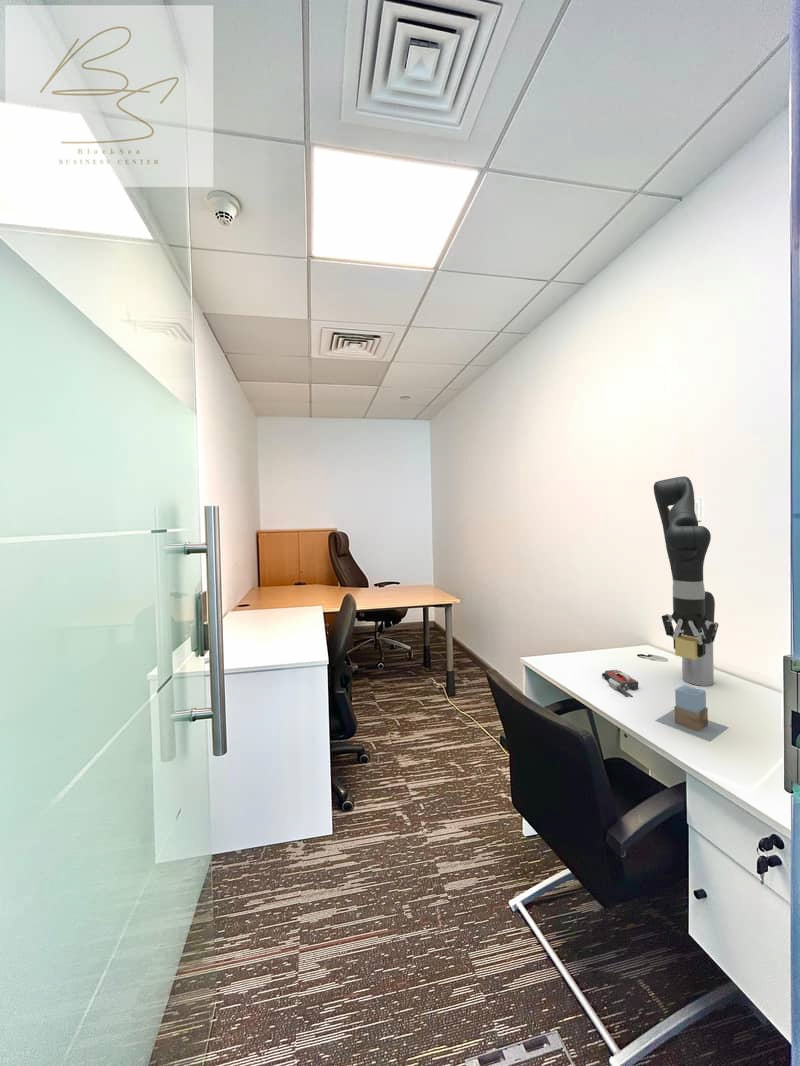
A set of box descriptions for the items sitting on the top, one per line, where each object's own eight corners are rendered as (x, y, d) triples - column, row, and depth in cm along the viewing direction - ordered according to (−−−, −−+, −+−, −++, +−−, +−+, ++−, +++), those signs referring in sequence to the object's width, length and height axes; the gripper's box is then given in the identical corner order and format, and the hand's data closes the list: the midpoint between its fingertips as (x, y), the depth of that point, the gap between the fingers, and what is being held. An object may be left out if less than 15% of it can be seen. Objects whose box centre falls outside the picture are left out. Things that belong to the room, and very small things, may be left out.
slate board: (675, 711, 128) (675, 708, 128) (729, 730, 116) (729, 727, 116) (655, 723, 122) (655, 720, 122) (710, 745, 110) (710, 741, 110)
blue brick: (684, 700, 123) (684, 684, 123) (705, 707, 118) (705, 690, 118) (675, 706, 120) (675, 689, 120) (697, 713, 115) (696, 696, 115)
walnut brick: (684, 716, 123) (684, 700, 123) (707, 724, 118) (707, 707, 118) (674, 722, 120) (674, 706, 120) (698, 731, 115) (697, 714, 115)
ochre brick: (683, 651, 122) (683, 634, 122) (703, 655, 118) (702, 638, 117) (675, 655, 119) (675, 638, 119) (694, 659, 115) (694, 642, 115)
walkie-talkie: (596, 677, 157) (629, 701, 137) (596, 666, 157) (628, 688, 137) (618, 676, 158) (654, 699, 138) (618, 664, 158) (653, 686, 138)
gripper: (655, 594, 122) (656, 650, 122) (711, 601, 110) (712, 664, 110) (668, 590, 126) (669, 645, 126) (724, 597, 113) (724, 657, 114)
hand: (689, 653), depth 118 cm, fingers closed on ochre brick, 5 cm apart
